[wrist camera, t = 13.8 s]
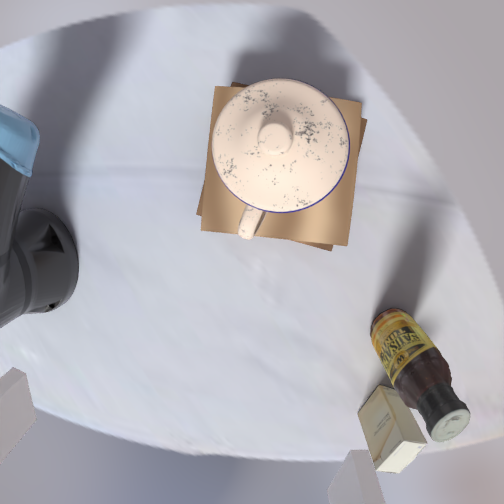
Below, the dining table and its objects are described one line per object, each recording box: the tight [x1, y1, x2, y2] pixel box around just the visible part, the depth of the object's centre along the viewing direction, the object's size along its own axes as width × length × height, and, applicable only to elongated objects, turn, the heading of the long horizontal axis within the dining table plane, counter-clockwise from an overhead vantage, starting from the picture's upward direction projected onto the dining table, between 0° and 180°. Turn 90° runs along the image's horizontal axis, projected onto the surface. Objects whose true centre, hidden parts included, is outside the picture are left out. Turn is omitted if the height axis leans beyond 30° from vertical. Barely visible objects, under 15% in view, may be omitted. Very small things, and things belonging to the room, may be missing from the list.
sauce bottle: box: [370, 309, 470, 442], centre depth 30 cm, size 7×6×20 cm
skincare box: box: [358, 385, 428, 474], centre depth 36 cm, size 6×4×12 cm
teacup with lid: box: [212, 78, 350, 240], centre depth 23 cm, size 12×9×12 cm
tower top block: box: [201, 86, 362, 246], centre depth 31 cm, size 14×14×4 cm
